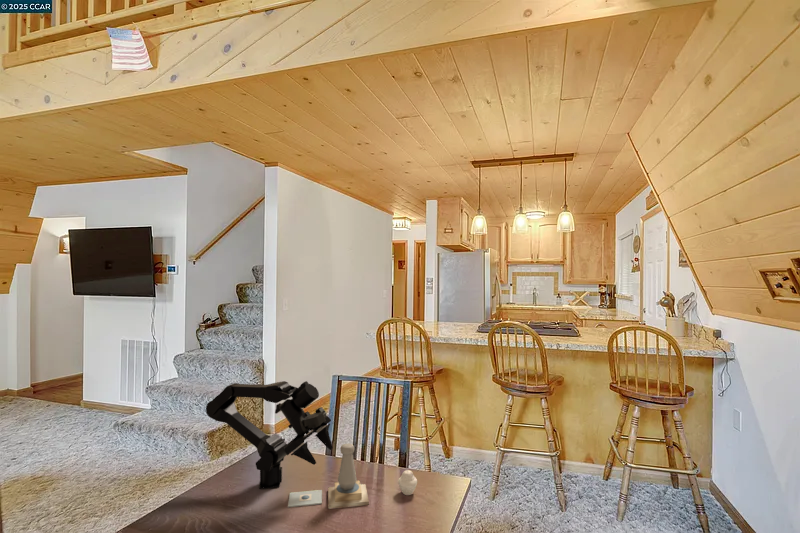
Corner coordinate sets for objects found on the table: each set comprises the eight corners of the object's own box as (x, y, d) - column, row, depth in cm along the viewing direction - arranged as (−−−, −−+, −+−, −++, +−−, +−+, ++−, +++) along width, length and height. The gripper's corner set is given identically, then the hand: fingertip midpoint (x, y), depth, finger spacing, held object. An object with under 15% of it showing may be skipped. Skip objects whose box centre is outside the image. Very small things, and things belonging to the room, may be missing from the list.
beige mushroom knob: (347, 493, 127) (347, 450, 128) (334, 488, 131) (334, 445, 131) (360, 485, 132) (360, 444, 133) (346, 480, 135) (346, 440, 136)
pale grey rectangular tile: (287, 507, 125) (287, 505, 125) (289, 493, 133) (289, 492, 133) (321, 504, 127) (321, 502, 127) (321, 491, 135) (321, 489, 135)
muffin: (414, 486, 138) (414, 465, 138) (419, 496, 132) (419, 473, 132) (396, 489, 136) (396, 467, 136) (400, 498, 130) (400, 475, 130)
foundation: (328, 508, 125) (328, 498, 125) (328, 490, 135) (328, 480, 136) (368, 504, 127) (368, 494, 127) (365, 487, 138) (365, 477, 138)
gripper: (291, 415, 126) (321, 459, 123) (327, 392, 143) (354, 430, 140) (271, 433, 131) (300, 476, 128) (307, 409, 148) (333, 446, 145)
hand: (323, 456), depth 135 cm, fingers open, 9 cm apart
